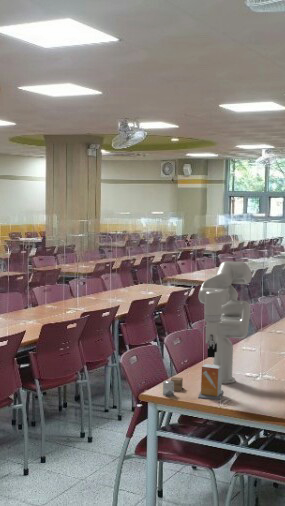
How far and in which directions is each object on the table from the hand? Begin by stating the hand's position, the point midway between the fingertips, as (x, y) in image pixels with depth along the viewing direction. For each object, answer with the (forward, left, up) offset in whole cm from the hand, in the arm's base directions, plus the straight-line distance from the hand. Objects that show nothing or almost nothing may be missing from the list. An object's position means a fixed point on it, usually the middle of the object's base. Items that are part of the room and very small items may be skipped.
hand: (212, 354), depth 298 cm
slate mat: (+1, 0, -19) cm, 19 cm away
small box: (+1, 0, -18) cm, 18 cm away
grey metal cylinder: (+6, -19, -19) cm, 27 cm away
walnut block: (-5, -17, -19) cm, 26 cm away
